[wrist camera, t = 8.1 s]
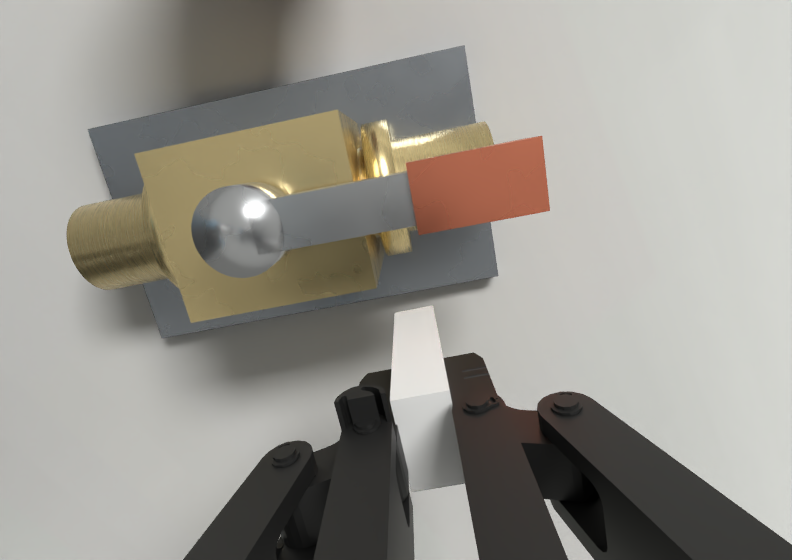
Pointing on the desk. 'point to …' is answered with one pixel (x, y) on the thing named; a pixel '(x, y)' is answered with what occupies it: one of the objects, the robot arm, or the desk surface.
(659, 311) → the desk surface
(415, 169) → the lever
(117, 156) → the valve block
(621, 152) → the desk surface
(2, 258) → the desk surface
